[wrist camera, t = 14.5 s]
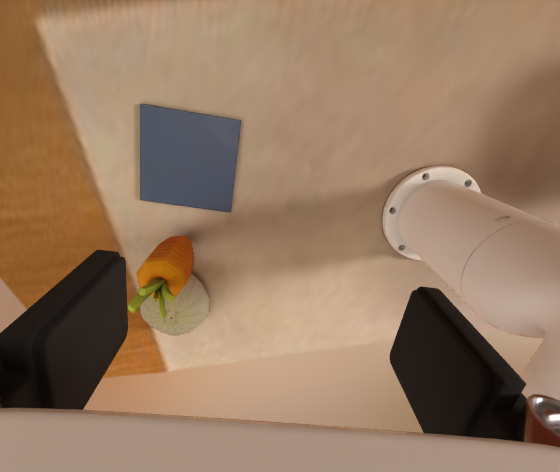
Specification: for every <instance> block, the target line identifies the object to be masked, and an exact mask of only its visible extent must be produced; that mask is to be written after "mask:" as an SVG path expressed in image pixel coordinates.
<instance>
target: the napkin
mask: <svg viewBox="0 0 560 472" xmlns="http://www.w3.org/2000/svg"><path fill="white" fill-rule="evenodd" d="M240 125H241V120H235V119H229V118H223V117H217V116H211V115H205V114H199V113H193V112H187V111H182V110H176V109H170V108H164V107H158V106H152V105H146V104H140V200H144V201H152V202H159V203H166V204H173V205H180V206H188V207H195V208H202V209H209V210H216V211H223V212H231V207H232V198H233V189H234V179H235V170H236V161H237V152H238V143H239V134H240Z"/></svg>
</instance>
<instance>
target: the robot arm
mask: <svg viewBox="0 0 560 472" xmlns="http://www.w3.org/2000/svg"><path fill="white" fill-rule="evenodd" d="M423 174H424V176H423ZM422 176H423V177H422ZM390 208H392V209H391V210H390ZM382 224H383V230H384V234H385V236H386V238H387V240H388V242H389V243H390V244H391V246H392V247H393V248H394V249H395V250H396V251H397V252H398V253H400V254H402V255H403V256H405V257H407V258H410V259H413V260H421V261H424V262H425V263H426V264H427V265H428V266H429V267H430V268H431V269H432V270H433V271H434V272H435V273H436V274H437V275H438V276H439V277H440V278H441V279H442V280H443V281H444V282H445V283H446V284H447V285H448V286H449V287H450V288H451V289H452V290H453V291H454V292H455V293H456V294H457V295H458V296H459V297H460V298H461V299H462V300H463V301H464V302H465V303H466V304H467V305H468V306H469V307H470V308H471V309H472V310H473V311H474V312H475V313H476V314H477V315H478V316H480V317H481V318H482V319H483V320H484V321H486V322H487V323H489V324H490V325H492V326H494V327H496V328H498V329H500V330H503V331H505V332H508V333H511V334H515V335H520V336H525V337H533V338H544V340H543V342H542V344H541V345H540V346H539V348H538V349H537V351H536V352H535V353H534V355H533V356H532V357H531V359H530V362H529V363H528V365H527V366H526V367H525V368H524V370H523V371H522V372H521V373H520V375H518V374H517V373H516V372H515V371H514V370H513V369H512V368H511V366H510V365H509V364H508V363H507V362H506V361H505V360H504V359H503V358H502V357H501V356H500V355H499V353H498V352H497V351H496V350H495V349H494V348H493V347H492V346H491V345H490V344H489V343H488V342H487V341H486V339H485V338H484V337H483V336H482V335H481V334H480V333H479V332H478V331H477V330H476V329H475V328H474V326H473V325H472V324H471V323H470V322H469V321H468V320H467V319H466V318H465V317H464V316H463V315H462V313H461V312H460V311H459V310H458V309H457V308H456V307H455V306H454V305H453V304H452V303H451V302H450V300H449V299H448V298H447V297H446V296H445V295H444V294H443V293H442V292H441V291H440V290H439V289H436V288H428V287H419V288H418V289H417V290H414V291H413V292H412V293H411V296H410V298H409V301H408V304H407V307H406V310H405V313H404V315H403V318H402V321H401V324H400V327H399V329H398V332H397V335H396V338H395V341H394V344H393V346H392V349H391V352H390V362H391V365H392V367H393V369H394V371H395V374H396V376H397V378H398V380H399V382H400V384H401V386H402V388H403V390H404V392H405V394H406V397H407V399H408V401H409V403H410V405H411V407H412V409H413V411H414V413H415V416H416V418H417V420H418V422H419V424H420V426H421V428H422V430H423V432H424V433H416V432H402V431H390V430H377V429H364V428H350V427H336V426H322V425H309V424H295V423H294V424H293V423H281V422H266V421H252V420H251V421H250V420H237V419H222V418H207V417H190V416H176V415H160V414H159V415H158V414H145V413H130V412H112V411H94V410H83V409H84V407H85V405H86V404H87V402H88V400H89V399H90V397H91V395H92V394H93V392H94V390H95V389H96V387H97V385H98V384H99V382H100V380H101V379H102V377H103V375H104V374H105V372H106V370H107V369H108V367H109V365H110V364H111V362H112V360H113V359H114V357H115V355H116V354H117V352H118V350H119V349H120V347H121V345H122V344H123V342H124V340H125V338H126V336H127V331H128V316H127V288H126V262H125V258H124V257H120V255H119V253H118V252H114V251H105V250H96V251H95V252H94V253H93V254H91V255H90V256H89V257H88V258H87V259H86V260H85V261H83V262H82V263H81V264H80V265H79V266H78V267H76V268H75V269H74V270H73V271H72V272H71V273H69V274H68V275H67V276H66V277H65V278H64V279H62V280H61V281H60V282H59V283H58V284H57V285H56V286H54V287H53V288H52V289H51V290H50V291H49V292H47V293H46V294H45V295H44V296H43V297H42V298H40V299H39V300H38V301H37V302H36V303H35V304H34V305H32V306H31V307H30V308H29V309H28V310H27V311H25V312H24V313H23V314H22V315H21V316H20V317H19V318H18V319H16V320H15V321H14V322H13V323H12V324H10V325H9V326H8V327H7V328H6V329H5V330H3V331H2V332H1V333H0V472H560V227H559V226H557V225H555V224H552V223H550V222H548V221H545V220H543V219H540V218H538V217H536V216H533V215H531V214H529V213H526V212H524V211H521V210H519V209H517V208H514V207H512V206H510V205H507V204H505V203H502V202H500V201H498V200H495V199H493V198H491V197H488V196H486V195H483V194H481V191H480V188H479V186H478V185H477V183H476V182H475V180H474V179H473V178H472V177H471V176H469V175H468V174H467V173H465V172H463V171H461V170H459V169H456V168H453V167H448V166H431V167H427V168H423V169H421V170H418V171H416V172H414V173H412V174H411V175H409V176H407V177H406V178H405V179H403V180H402V181H401V182H400V183H399V184H398V185H397V186H396V187H395V189H394V190H393V191H392V192H391V194H390V196H389V198H388V199H387V201H386V204H385V207H384V210H383V217H382ZM400 245H401V246H400Z"/></svg>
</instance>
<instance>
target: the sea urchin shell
mask: <svg viewBox="0 0 560 472" xmlns="http://www.w3.org/2000/svg"><path fill="white" fill-rule="evenodd" d="M208 297H209V296H208V294H207V292H206V291H205V289H204V286H203V284H201V282H200V281H199V280H198V279H197V278H196V277H195V276H194V275H192V274H190V277H189V279H188V282H187V284H186V285H185V286H184V288H183V289H182V290H181V291H180V293H179V294H178V295H177V296H176V297H175V299H174V301H173V302H169V301H167V300H166V299H165V308H166V312H167V317H165V318H163V319H162V317H161V314H160V310H159V300H158V301H157V302H153V301H152V300H153V297H151V296H149V297H148V298H147V299H146V300H145V301H144V302H143V303H142V304H141V306H140V312H141V315H142V317H143V319H144V320H145V321H146V322H147V323H148V324H150V325H151V326H152V327H154V328H155V329H157V330H159V331H161V332H162V333H165V334H168V335H171V336H179V335H181V334H184V333H188V332H190V331H191V330H193V329H194V328H196V327H197V326H198V325H200V324H201V323H202V322H203V320H204V319H205V318H206V317H207V315H208V312H209V309H210V305H209V298H208Z"/></svg>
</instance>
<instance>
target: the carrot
mask: <svg viewBox="0 0 560 472" xmlns="http://www.w3.org/2000/svg"><path fill="white" fill-rule="evenodd" d="M193 261H194V252H193V247H192V243H191V240H190V239H189V238H187V237H186V236H184V235H182V236H174V237H170V238H168V239H166V240H165V241H163V242H162V243H160V244H159V245H158V246H157V248H156V249H155V250H154V251H153V252H152V253H151V255H150V256H149V257H148V258H147V260H146V261H145V262H144V264H143V265H142V266H141V268H140V269H139V270H138V272H137V278H138V282H139V285H140V289H139V293H138V294H137V295H136V296H135V297H134V298H133V299H132V300H131V302H130V303H129V304H128V309H129V311H130V312H132V313H135V312H136V311H137V309H138V308H139V307H140V306H141V304H142V303H143V302H144V301H145V300H146V299H147V298H148V297H149V296H151V297H153V300H152V301H153V302H157V301H158V300H159V310H160V314H161V317H162V319H163V318H165V317H167V312H166V308H165V299H166V300H167V301H169V302H173V301H174V299H175V297H176V296H177V295H178V294H179V293H180V291H181V290H182V289H183V288H184V286H185V285H186V284H187V282H188V279H189V277H190V274H191V271H192V267H193Z"/></svg>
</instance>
